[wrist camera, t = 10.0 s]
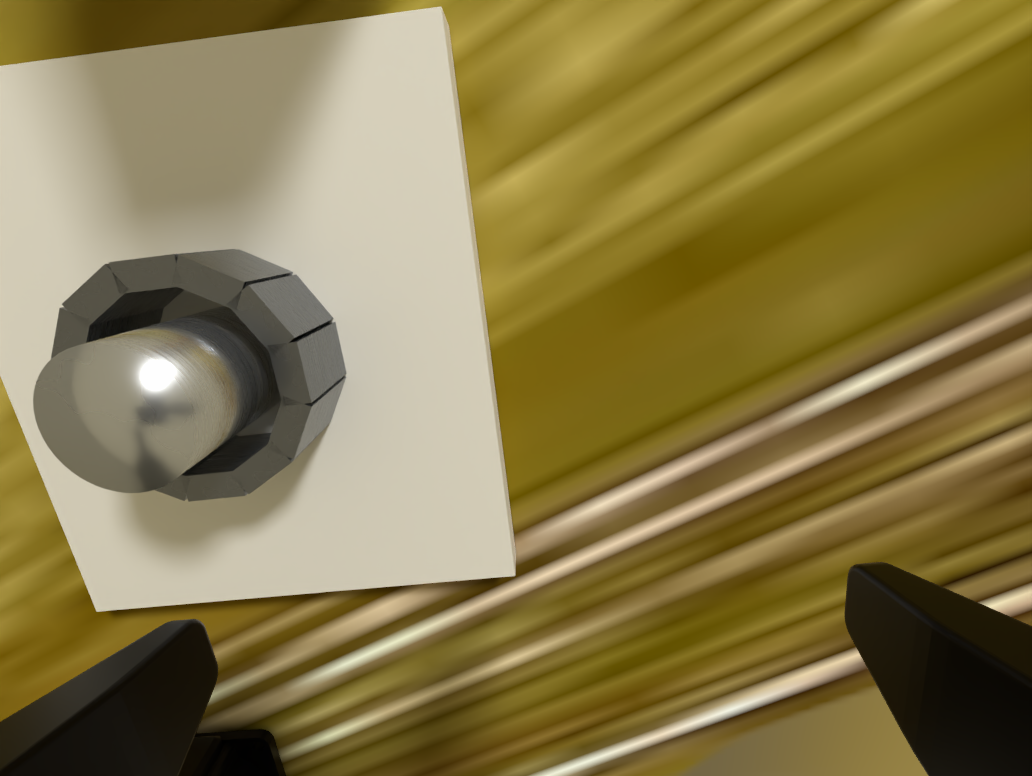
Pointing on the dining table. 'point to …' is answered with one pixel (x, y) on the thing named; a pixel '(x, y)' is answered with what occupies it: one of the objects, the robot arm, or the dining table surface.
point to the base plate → (306, 252)
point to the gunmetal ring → (268, 315)
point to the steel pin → (153, 399)
